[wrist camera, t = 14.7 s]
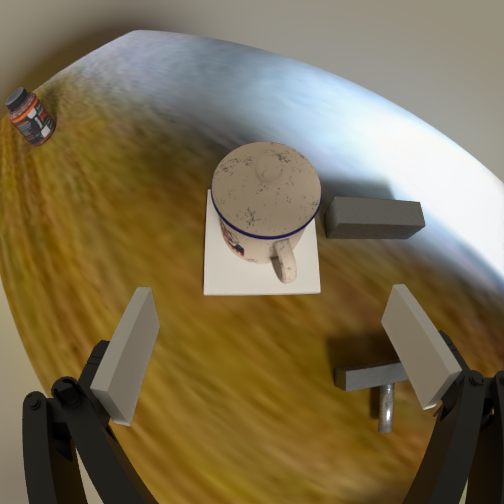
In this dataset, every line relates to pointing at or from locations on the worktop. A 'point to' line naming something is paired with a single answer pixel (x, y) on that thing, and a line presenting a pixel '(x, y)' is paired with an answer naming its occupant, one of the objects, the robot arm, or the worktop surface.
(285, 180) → the teacup with lid
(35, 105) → the supplement bottle
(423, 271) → the worktop surface
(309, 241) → the tile
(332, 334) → the worktop surface
